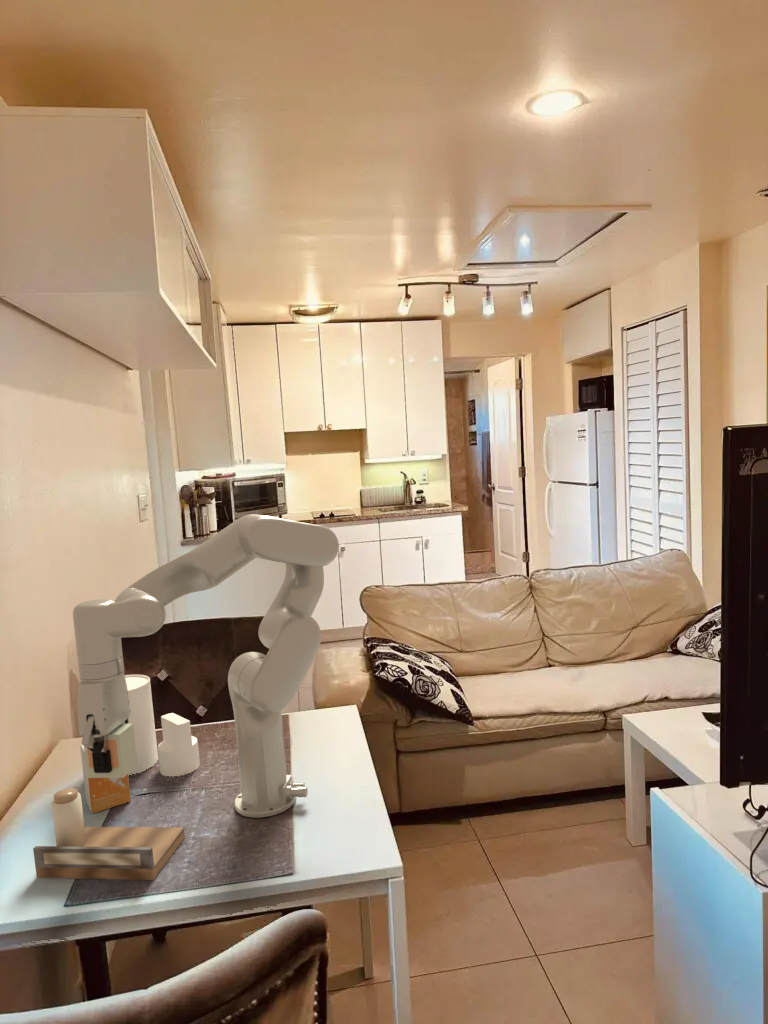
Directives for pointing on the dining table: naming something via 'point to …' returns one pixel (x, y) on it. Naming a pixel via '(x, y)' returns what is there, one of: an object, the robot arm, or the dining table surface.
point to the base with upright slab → (177, 747)
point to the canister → (142, 721)
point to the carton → (116, 753)
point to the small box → (104, 790)
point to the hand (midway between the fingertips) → (111, 763)
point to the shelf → (111, 854)
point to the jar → (68, 818)
